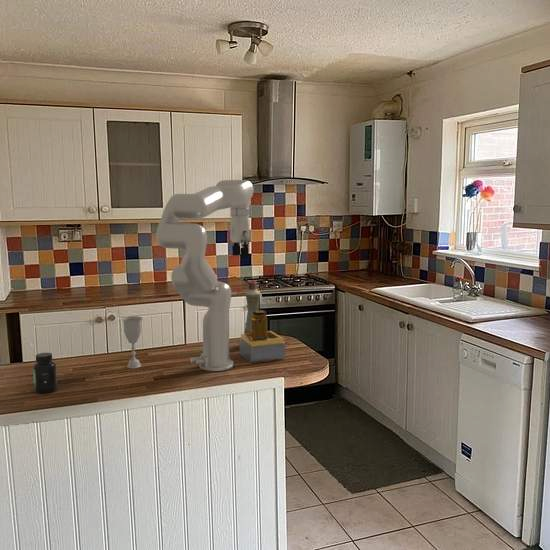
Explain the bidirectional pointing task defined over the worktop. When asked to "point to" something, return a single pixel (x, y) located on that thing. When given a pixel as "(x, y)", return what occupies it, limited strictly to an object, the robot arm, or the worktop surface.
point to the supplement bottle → (44, 374)
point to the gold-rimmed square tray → (262, 347)
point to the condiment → (259, 325)
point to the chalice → (132, 336)
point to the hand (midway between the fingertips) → (240, 256)
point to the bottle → (251, 304)
